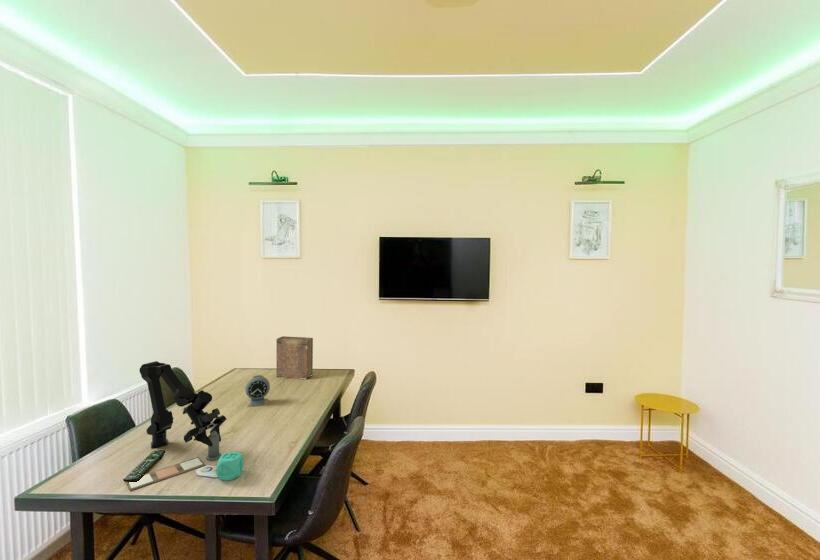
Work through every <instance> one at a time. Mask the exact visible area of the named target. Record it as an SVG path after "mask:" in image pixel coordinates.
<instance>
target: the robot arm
mask: <svg viewBox="0 0 820 560" xmlns="http://www.w3.org/2000/svg"><path fill="white" fill-rule="evenodd" d="M139 373H140V377H141V378H142V379H143V380H144V382H145V383H147V389H148V393H149V398H150V403H151V407H152V412H153V413H152V415H151V418H150V425H149V426H148V427H147V428H146V435H149V436H151V441H150V448H151V449H155V448H160V447H164V446H168V441H169V440H168V438H167V431H168V430H171V428H172V426H173V424H174V416H173V412H172V411H171V410H170V411H169V410H168V409H167V407H166V403H165V399H164V394H163V390H162V383H161V378H162V380H163V381H164V382H165V384H166V385H167V387H168V388H169V389H170V390H171V392H172V393H173V400H174V402H175V404H176V405H177V406H178V407H179V408H180V407H181V408H183V407H184V408H183V410H182V415H185V414H186V415H187V416H188V418H189V419H190V420H191V422H190V424H191V426H192V425H194V428H191V429H190V430H188V431H187V433H186V434H184V436H183V441H184V443H186V444H187V443H188V442H190V441H192V440H193V441H197V442H199V443H202V444H204V445H206V446H207V447H208V446H210V447H211V446H212V443H211V441H210V440H209V438H208V436H209V435H207V430H209V429H210V431H209V433H211V432H212V431H216V432H217V434H219V443H220V442H221V441H222V437H221V433H220V427H221V426H222V425H223V424H224V422H225V421H226V420H227V417H226V416H225V415H223V414H222V415H221V412H220V410H219V408H214V409H211V412H208V411H204V409H205V408H206V407H207V406H208V405H209V404H210V403H211V402H212V401H213V395H212V394H211V393H209V392H208V391H204V389H202V390H199V391H198V392H195V391H194V390H193V389H192V388H190V387H189V386H186V385H184V383H183V382H182V381H181V379H180V378H179V377H178V376H177V374H176V373H175V371H174V370H173V369H172V366H171V365H170V364H169V363H165V362H159V361H157V360H155V361H152V362H147V363H144V364H142V365H141V366H140V368H139ZM187 405H188V406H187ZM185 406H186V407H185Z"/></svg>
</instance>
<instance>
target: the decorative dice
mask: <svg viewBox="0 0 820 560" xmlns="http://www.w3.org/2000/svg"><path fill="white" fill-rule="evenodd" d="M217 460H218V461H217V464H216V473H215V474H216V476H217V477H218V478H219V479H220V480H222V481H225V482H227V481H232V480H235V479H237V478H239V477H240V476H241V474H242V473H243V468H244V466H245V465H244V464H245V458H244V456H243V454H242V453H241V452H239V451H229V452H225V453H224V454H221V457H220V458H219V459H217Z"/></svg>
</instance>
